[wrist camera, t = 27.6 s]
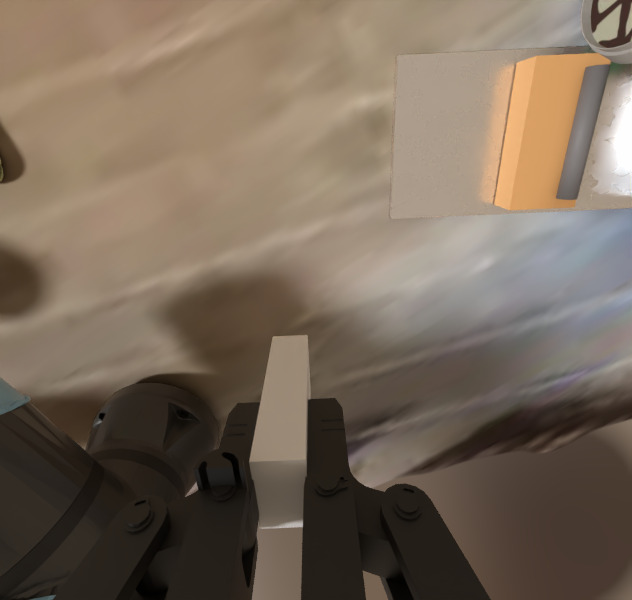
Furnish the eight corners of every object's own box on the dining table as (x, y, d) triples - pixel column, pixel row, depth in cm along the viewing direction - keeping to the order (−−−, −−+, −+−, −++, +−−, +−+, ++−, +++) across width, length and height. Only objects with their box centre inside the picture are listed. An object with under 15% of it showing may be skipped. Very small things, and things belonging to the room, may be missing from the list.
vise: (658, 204, 38) (717, 216, 32) (388, 216, 38) (401, 230, 32) (714, 42, 32) (798, 22, 26) (395, 57, 32) (412, 41, 26)
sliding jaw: (554, 201, 36) (586, 210, 32) (494, 204, 36) (518, 213, 32) (586, 59, 31) (629, 47, 27) (516, 62, 31) (548, 51, 27)
